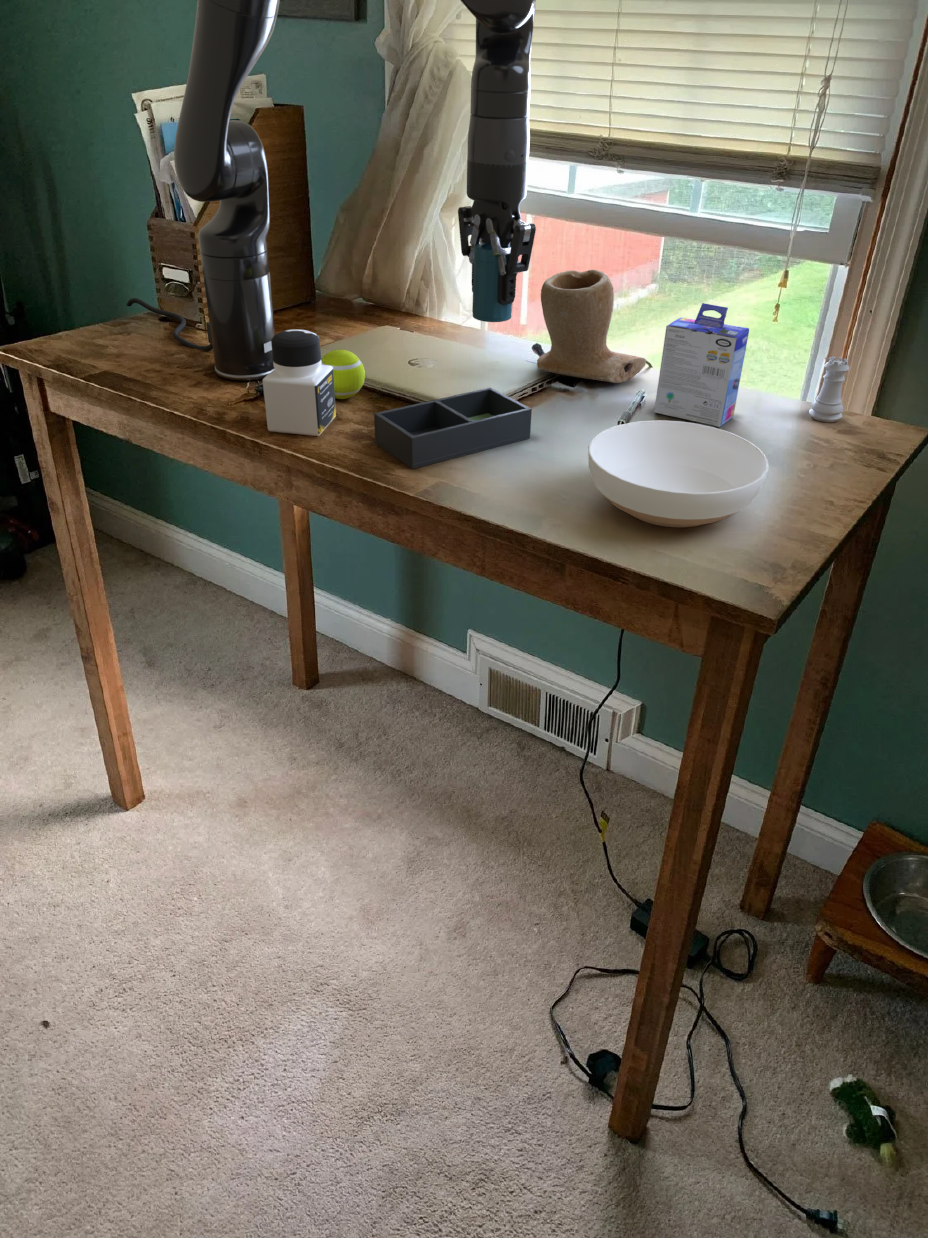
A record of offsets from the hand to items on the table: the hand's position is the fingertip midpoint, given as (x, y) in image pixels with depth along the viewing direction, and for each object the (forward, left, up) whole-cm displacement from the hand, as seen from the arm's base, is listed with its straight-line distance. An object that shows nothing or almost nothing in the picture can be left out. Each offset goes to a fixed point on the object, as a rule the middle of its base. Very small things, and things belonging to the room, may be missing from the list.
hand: (492, 297), depth 125 cm
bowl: (+37, -1, -15) cm, 40 cm away
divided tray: (+9, -12, -14) cm, 21 cm away
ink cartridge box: (+19, +21, -15) cm, 32 cm away
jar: (0, 0, -3) cm, 3 cm away
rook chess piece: (+29, +36, -15) cm, 48 cm away
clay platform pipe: (-1, +18, -15) cm, 23 cm away
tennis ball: (-12, -17, -15) cm, 25 cm away
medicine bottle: (-6, -26, -15) cm, 30 cm away
